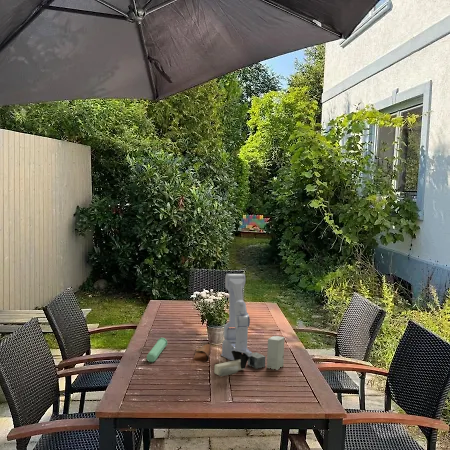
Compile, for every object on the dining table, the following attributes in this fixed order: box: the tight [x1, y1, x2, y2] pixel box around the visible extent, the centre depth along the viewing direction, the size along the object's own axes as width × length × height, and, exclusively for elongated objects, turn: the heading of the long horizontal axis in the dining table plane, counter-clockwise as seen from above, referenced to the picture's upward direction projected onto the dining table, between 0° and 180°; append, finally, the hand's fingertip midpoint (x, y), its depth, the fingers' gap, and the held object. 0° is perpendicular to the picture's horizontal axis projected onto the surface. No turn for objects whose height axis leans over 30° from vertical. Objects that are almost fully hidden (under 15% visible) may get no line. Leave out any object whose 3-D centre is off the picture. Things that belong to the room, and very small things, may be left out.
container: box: [146, 337, 168, 363], centre depth 252 cm, size 6×6×25 cm
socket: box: [247, 352, 266, 370], centre depth 242 cm, size 7×6×5 cm
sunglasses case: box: [192, 343, 211, 362], centre depth 254 cm, size 18×7×7 cm
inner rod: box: [213, 359, 246, 376], centre depth 232 cm, size 3×16×4 cm, turn 126°
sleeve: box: [218, 365, 239, 377], centre depth 230 cm, size 5×10×4 cm, turn 127°
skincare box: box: [266, 335, 285, 371], centre depth 241 cm, size 8×6×15 cm
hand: (240, 366), depth 236 cm, fingers open, 4 cm apart
